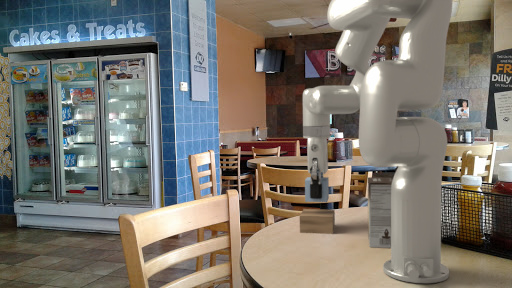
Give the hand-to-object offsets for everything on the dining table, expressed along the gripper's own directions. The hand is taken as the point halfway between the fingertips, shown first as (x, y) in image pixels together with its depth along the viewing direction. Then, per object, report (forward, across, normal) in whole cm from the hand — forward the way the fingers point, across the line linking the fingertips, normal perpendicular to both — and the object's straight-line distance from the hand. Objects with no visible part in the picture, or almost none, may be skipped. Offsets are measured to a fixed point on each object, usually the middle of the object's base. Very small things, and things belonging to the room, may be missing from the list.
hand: (317, 195), depth 128 cm
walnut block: (+10, 0, 0) cm, 10 cm away
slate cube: (+1, 0, 0) cm, 1 cm away
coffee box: (+10, -11, -17) cm, 22 cm away
